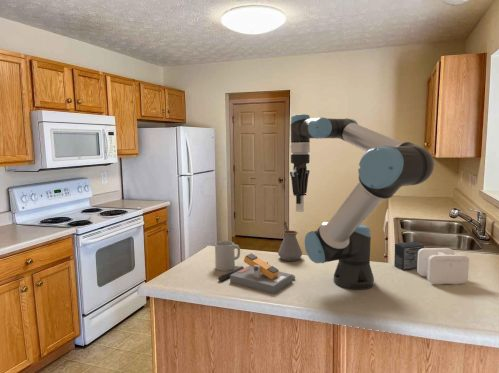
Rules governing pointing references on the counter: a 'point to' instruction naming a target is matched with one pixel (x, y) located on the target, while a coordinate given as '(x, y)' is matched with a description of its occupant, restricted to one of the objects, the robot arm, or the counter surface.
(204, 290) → the counter surface
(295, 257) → the coffee pot
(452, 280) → the cable organizer
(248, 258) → the lever
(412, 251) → the small box
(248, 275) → the panel
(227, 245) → the mug
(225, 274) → the black rounded bar
